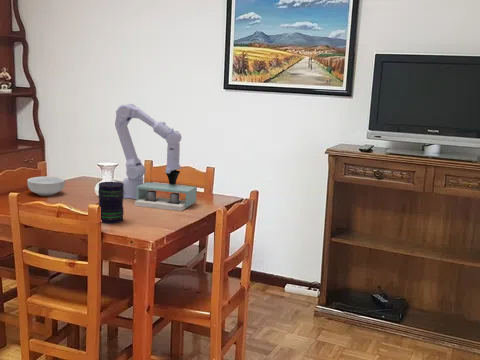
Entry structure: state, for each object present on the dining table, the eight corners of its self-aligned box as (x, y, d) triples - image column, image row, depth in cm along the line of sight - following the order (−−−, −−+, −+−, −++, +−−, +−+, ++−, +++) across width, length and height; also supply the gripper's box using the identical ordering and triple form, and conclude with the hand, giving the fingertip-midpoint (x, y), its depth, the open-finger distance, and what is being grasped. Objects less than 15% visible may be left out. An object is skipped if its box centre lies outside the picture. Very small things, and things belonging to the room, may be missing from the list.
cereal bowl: (20, 193, 267) (20, 178, 265) (52, 189, 279) (52, 174, 278) (39, 199, 256) (39, 184, 255) (72, 194, 268) (72, 180, 267)
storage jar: (127, 222, 225) (127, 185, 222) (103, 224, 220) (103, 187, 217) (118, 216, 233) (118, 180, 231) (94, 218, 228) (94, 182, 225)
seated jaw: (168, 207, 253) (169, 194, 252) (171, 205, 257) (172, 192, 256) (177, 208, 252) (177, 195, 251) (180, 206, 256) (180, 193, 255)
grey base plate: (134, 205, 253) (134, 201, 252) (145, 200, 264) (145, 196, 264) (181, 211, 248) (181, 206, 247) (190, 205, 259) (190, 201, 259)
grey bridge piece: (136, 201, 257) (136, 186, 256) (147, 196, 269) (147, 181, 267) (187, 207, 251) (188, 191, 250) (196, 201, 263) (196, 186, 262)
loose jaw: (145, 204, 256) (145, 191, 255) (149, 203, 260) (149, 190, 259) (153, 205, 255) (154, 192, 254) (157, 203, 259) (157, 191, 258)
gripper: (175, 160, 255) (175, 189, 258) (186, 156, 269) (185, 184, 272) (161, 159, 257) (160, 188, 259) (172, 155, 271) (171, 182, 273)
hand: (172, 186), depth 266 cm, fingers closed
